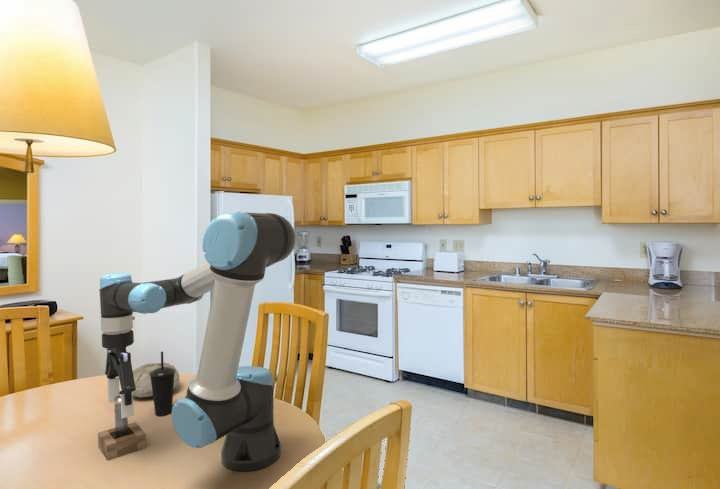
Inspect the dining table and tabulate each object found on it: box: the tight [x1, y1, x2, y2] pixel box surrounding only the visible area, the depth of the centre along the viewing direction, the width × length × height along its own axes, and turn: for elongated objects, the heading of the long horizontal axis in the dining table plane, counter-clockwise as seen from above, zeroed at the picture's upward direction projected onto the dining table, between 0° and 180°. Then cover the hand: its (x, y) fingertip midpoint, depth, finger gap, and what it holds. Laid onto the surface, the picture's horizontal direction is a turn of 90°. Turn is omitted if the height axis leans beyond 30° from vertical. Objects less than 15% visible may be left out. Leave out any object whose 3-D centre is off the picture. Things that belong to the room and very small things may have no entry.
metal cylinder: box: [113, 394, 129, 439], centre depth 119 cm, size 3×3×14 cm
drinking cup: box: [149, 351, 175, 417], centre depth 140 cm, size 8×8×20 cm
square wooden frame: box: [97, 421, 147, 461], centre depth 119 cm, size 9×9×4 cm
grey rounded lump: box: [127, 362, 180, 398], centre depth 157 cm, size 18×18×10 cm
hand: (120, 408), depth 118 cm, fingers open, 13 cm apart
